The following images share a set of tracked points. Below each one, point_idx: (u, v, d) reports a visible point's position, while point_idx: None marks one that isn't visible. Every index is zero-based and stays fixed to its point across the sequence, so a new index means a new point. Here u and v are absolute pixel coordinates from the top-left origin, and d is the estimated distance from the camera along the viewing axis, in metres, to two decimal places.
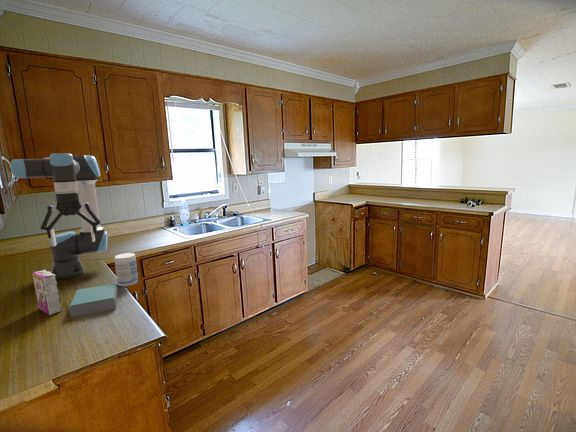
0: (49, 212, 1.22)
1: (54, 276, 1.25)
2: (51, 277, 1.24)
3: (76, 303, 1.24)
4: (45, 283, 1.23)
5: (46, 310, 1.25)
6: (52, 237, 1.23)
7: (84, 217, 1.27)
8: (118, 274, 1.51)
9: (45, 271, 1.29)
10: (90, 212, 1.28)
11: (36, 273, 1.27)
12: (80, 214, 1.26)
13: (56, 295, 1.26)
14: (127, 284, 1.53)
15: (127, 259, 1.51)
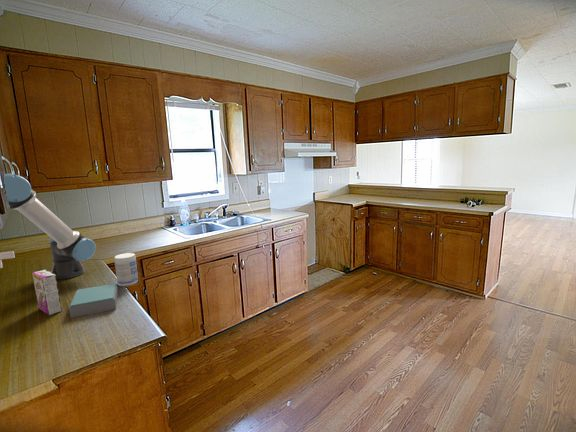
0: None
1: (54, 276, 1.25)
2: (51, 277, 1.24)
3: (76, 303, 1.24)
4: (45, 283, 1.23)
5: (46, 310, 1.25)
6: None
7: None
8: (118, 274, 1.51)
9: (45, 271, 1.29)
10: None
11: (36, 273, 1.27)
12: None
13: (56, 295, 1.26)
14: (127, 284, 1.53)
15: (127, 259, 1.51)
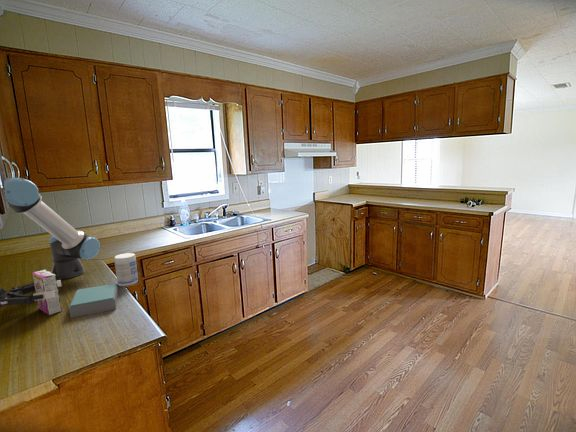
0: None
1: (54, 276, 1.25)
2: (51, 277, 1.24)
3: (76, 303, 1.24)
4: (45, 283, 1.23)
5: (46, 310, 1.25)
6: None
7: None
8: (118, 274, 1.51)
9: (45, 271, 1.29)
10: None
11: (36, 273, 1.27)
12: None
13: (56, 295, 1.26)
14: (127, 284, 1.53)
15: (127, 259, 1.51)
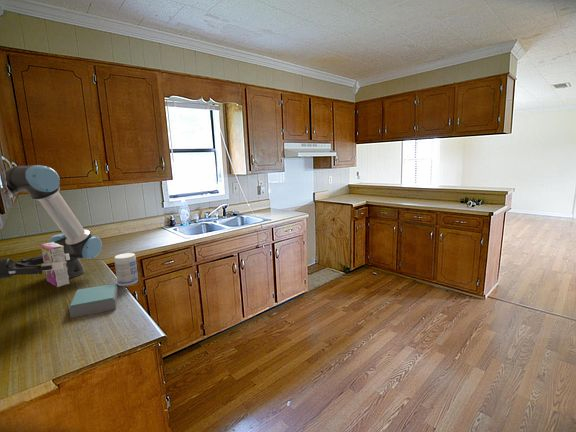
0: None
1: (62, 247, 1.23)
2: (59, 248, 1.23)
3: (76, 303, 1.24)
4: (53, 254, 1.21)
5: (54, 282, 1.24)
6: None
7: None
8: (118, 274, 1.51)
9: (53, 243, 1.27)
10: None
11: (44, 245, 1.25)
12: None
13: (64, 267, 1.25)
14: (127, 284, 1.53)
15: (127, 259, 1.51)
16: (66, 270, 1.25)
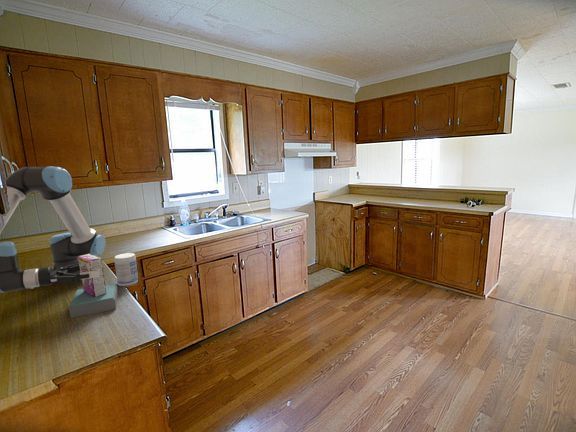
0: None
1: (100, 259, 1.29)
2: (97, 260, 1.28)
3: (76, 303, 1.24)
4: (92, 266, 1.27)
5: (92, 292, 1.30)
6: None
7: None
8: (118, 274, 1.51)
9: (90, 255, 1.33)
10: None
11: (82, 257, 1.31)
12: None
13: (101, 277, 1.31)
14: (127, 284, 1.53)
15: (127, 259, 1.51)
16: (103, 281, 1.31)
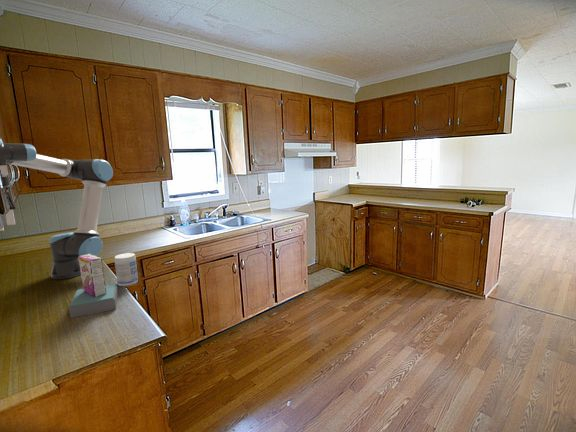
0: None
1: (100, 259, 1.29)
2: (98, 260, 1.29)
3: (76, 303, 1.24)
4: (92, 266, 1.27)
5: (92, 292, 1.30)
6: None
7: None
8: (118, 274, 1.51)
9: (90, 255, 1.33)
10: None
11: (82, 257, 1.31)
12: None
13: (101, 277, 1.31)
14: (127, 284, 1.53)
15: (127, 259, 1.51)
16: (103, 281, 1.31)
